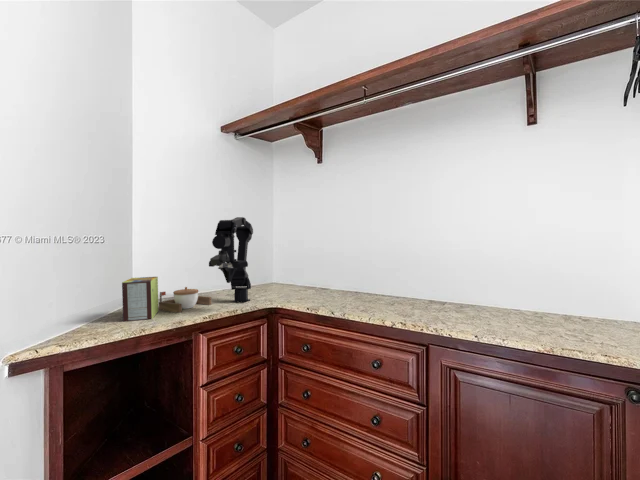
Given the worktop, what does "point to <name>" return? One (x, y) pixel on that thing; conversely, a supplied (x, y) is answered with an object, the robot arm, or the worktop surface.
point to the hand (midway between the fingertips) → (228, 282)
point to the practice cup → (175, 307)
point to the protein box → (140, 298)
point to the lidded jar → (186, 297)
